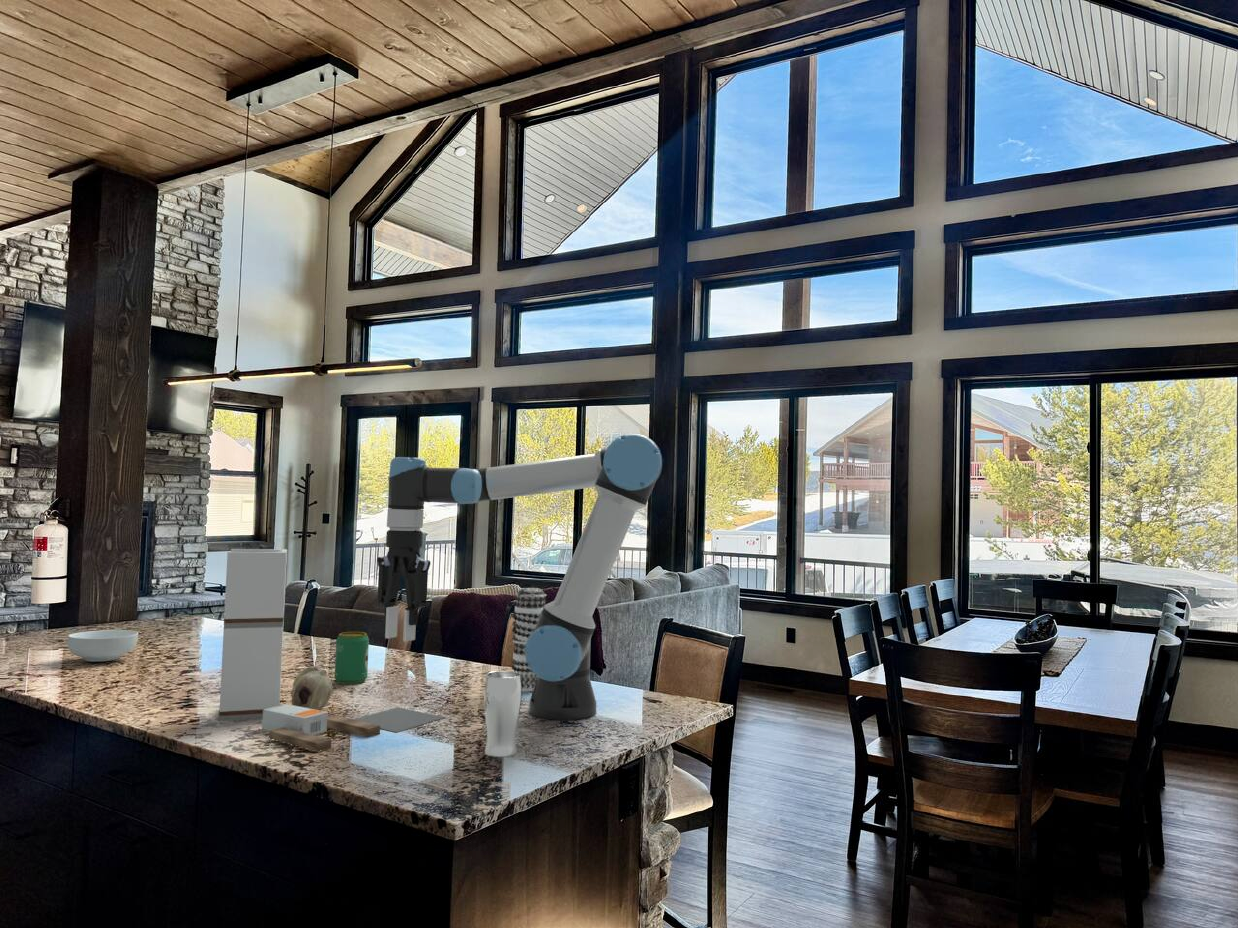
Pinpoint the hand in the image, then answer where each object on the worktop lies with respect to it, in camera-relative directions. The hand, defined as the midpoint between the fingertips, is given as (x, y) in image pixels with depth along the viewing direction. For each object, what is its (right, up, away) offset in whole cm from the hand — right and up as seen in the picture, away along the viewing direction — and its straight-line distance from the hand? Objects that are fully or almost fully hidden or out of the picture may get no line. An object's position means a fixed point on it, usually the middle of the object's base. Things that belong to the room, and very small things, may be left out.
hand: (400, 638), depth 175 cm
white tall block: (-33, -17, +2) cm, 37 cm away
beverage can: (-22, -19, +35) cm, 46 cm away
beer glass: (+25, -17, -21) cm, 37 cm away
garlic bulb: (-21, -17, +4) cm, 27 cm away
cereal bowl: (-97, -17, +53) cm, 112 cm away
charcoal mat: (0, -17, -1) cm, 17 cm away
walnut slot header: (-11, -17, -14) cm, 24 cm away
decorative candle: (+23, -20, +34) cm, 46 cm away
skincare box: (-13, -14, -13) cm, 23 cm away
